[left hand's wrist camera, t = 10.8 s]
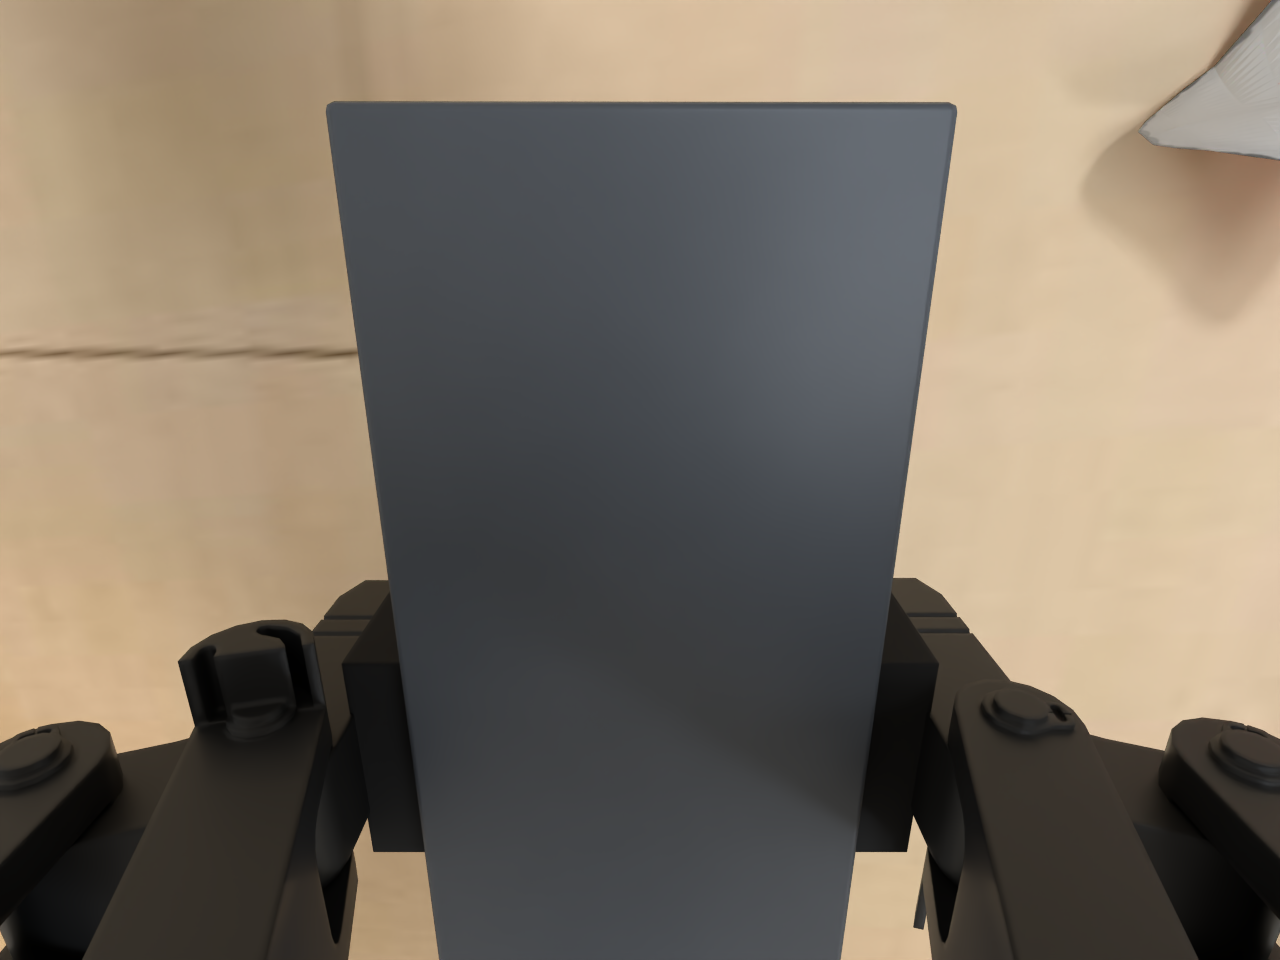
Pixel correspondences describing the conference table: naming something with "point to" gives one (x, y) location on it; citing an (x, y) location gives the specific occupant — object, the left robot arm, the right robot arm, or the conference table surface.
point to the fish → (1230, 99)
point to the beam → (640, 498)
